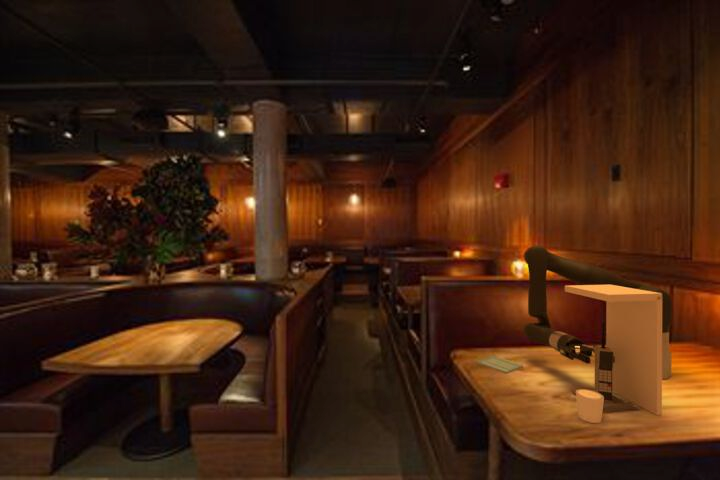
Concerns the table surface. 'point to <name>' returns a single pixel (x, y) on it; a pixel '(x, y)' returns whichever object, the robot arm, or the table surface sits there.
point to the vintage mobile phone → (604, 370)
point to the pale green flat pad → (500, 364)
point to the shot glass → (589, 405)
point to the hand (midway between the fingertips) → (601, 360)
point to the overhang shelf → (631, 344)
